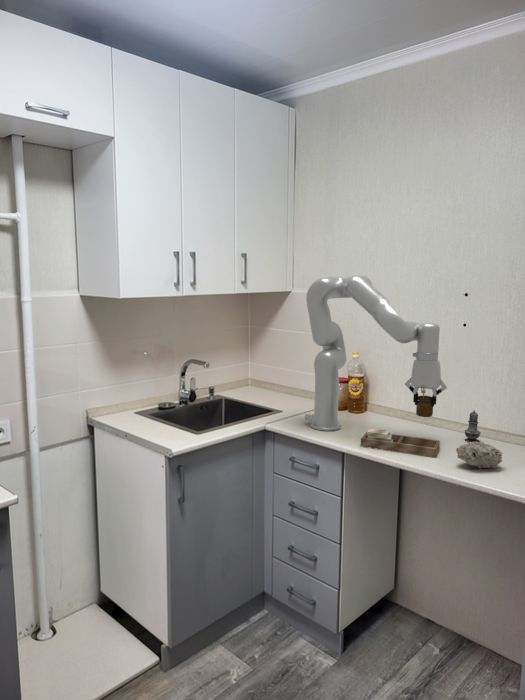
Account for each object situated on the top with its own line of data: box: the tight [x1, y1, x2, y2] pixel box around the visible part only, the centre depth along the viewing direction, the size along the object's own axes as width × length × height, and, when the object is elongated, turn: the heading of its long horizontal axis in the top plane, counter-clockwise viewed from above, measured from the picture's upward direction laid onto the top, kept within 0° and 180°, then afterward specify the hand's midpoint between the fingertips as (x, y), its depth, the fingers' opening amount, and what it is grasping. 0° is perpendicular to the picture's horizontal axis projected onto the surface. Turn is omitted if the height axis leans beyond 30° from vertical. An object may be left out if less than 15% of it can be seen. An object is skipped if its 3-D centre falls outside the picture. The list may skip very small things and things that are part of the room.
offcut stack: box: [366, 427, 393, 442], centre depth 196 cm, size 9×7×5 cm
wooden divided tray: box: [360, 431, 441, 458], centre depth 193 cm, size 26×11×3 cm, turn 66°
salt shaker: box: [463, 409, 481, 443], centre depth 203 cm, size 6×6×12 cm
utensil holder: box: [415, 385, 434, 418], centre depth 200 cm, size 6×6×12 cm
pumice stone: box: [456, 441, 503, 469], centre depth 175 cm, size 14×12×8 cm
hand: (424, 404), depth 200 cm, fingers closed on utensil holder, 5 cm apart
